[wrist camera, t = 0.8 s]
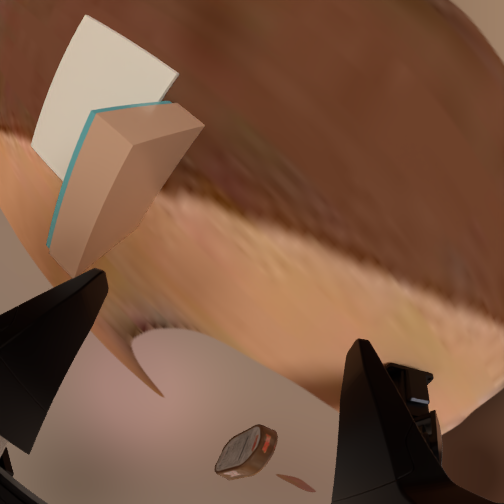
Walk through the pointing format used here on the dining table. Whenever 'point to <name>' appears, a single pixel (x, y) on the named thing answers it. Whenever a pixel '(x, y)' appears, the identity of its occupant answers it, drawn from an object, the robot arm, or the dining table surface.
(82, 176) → the tile
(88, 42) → the mat
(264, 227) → the dining table surface
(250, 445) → the tin
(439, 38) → the dining table surface
